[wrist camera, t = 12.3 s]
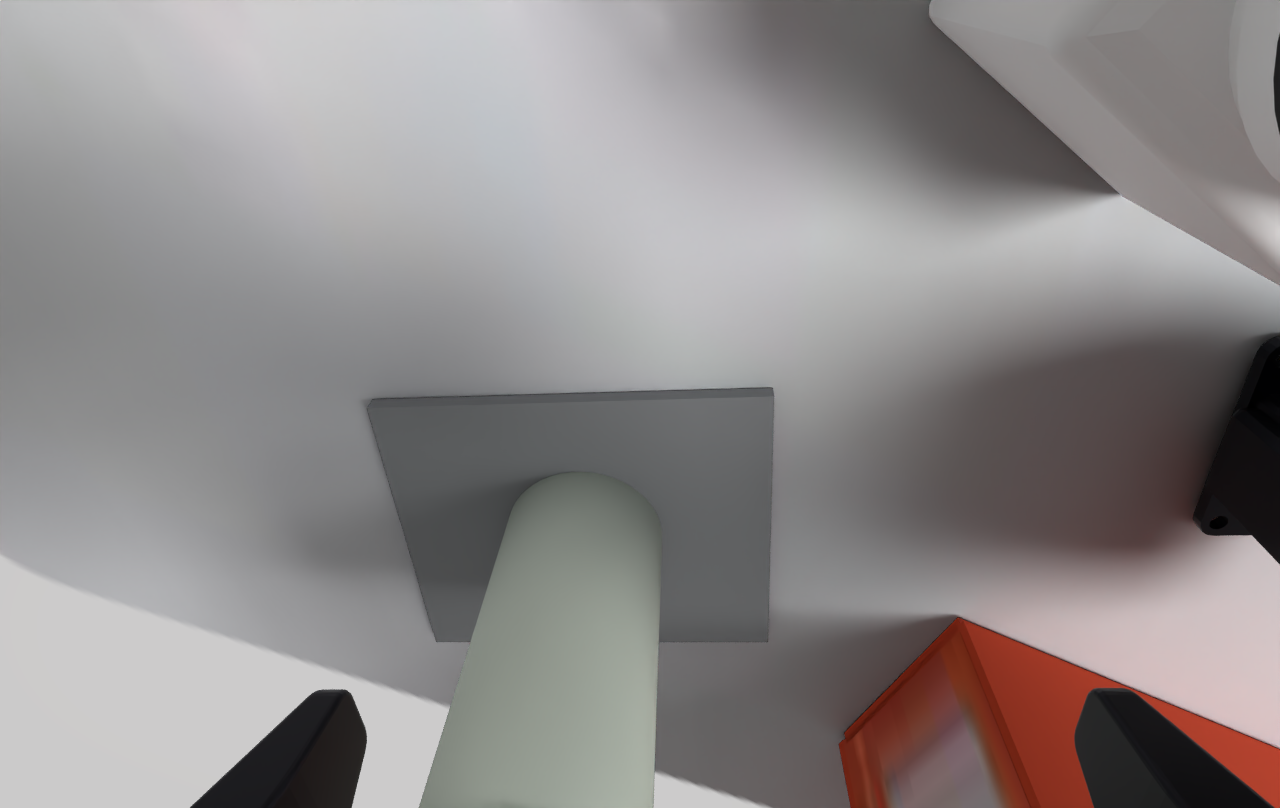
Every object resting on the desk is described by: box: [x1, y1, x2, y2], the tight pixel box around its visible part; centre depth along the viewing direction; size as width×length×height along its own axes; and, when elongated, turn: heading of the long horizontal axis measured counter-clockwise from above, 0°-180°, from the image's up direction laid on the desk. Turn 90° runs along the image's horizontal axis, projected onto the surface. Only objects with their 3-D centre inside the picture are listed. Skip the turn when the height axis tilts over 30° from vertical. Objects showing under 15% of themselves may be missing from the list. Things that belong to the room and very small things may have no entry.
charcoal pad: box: [367, 388, 774, 642], centre depth 25 cm, size 12×10×1 cm
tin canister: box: [419, 472, 662, 808], centre depth 19 cm, size 5×5×12 cm
